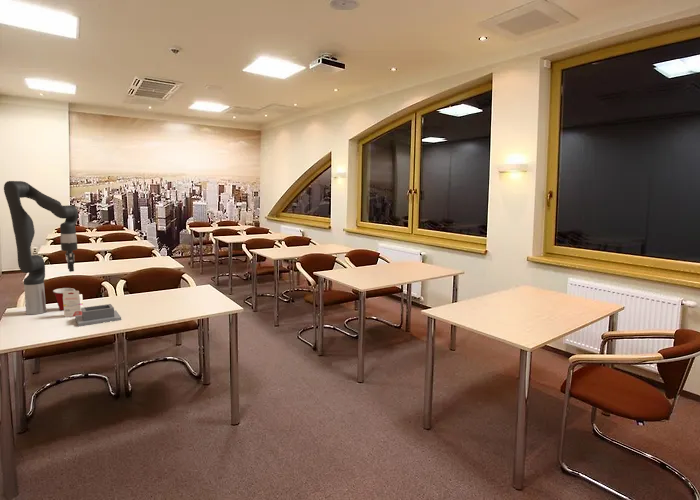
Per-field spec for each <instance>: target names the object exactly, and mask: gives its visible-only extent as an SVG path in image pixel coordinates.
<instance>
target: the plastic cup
mask: <svg viewBox="0 0 700 500" xmlns="http://www.w3.org/2000/svg"><path fill="white" fill-rule="evenodd" d="M63 291H76V289H75V288H71V287H62V288H56V289H53V290H52V292H53V294H54V296H55V298H56V299H55V300H56V303H57V306H58V310H60V311H64V306H63ZM68 294H74V293H68Z"/></svg>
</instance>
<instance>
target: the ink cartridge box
mask: <svg viewBox="0 0 700 500" xmlns="http://www.w3.org/2000/svg"><path fill="white" fill-rule="evenodd" d="M68 293H74V294H68ZM83 299H84V298H83V294H82V293H80V291H79V290H75V291H63V306H64V310H63V316H64V317H67V318H68V317H75V316H78V315H82V312H81V308H83V307H84V300H83Z"/></svg>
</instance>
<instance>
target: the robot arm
mask: <svg viewBox="0 0 700 500" xmlns="http://www.w3.org/2000/svg"><path fill="white" fill-rule="evenodd" d="M3 192H4V196H5V199H6V202H7V206H8V209H9V213H10V217H11V223H12V228H13V233H14V237H15V243H16V250H17V251H16V253H17V265H18V269H19V270H20V271H21V272H22V273H24V274H28V275H27V276H26V277H25V278H24V279H23V289H24V291H23V292H24V303H25V313H26V315H27V316H28V315H38V314H44V313H46V312H47V304H46V303H47V302H46V293H45V279H46V263H45V259H44V258H43V257H42V256H41V255H39V254H33V255H32V250H31V249H32V248H31V247H32V243H33V240H34V236H35V230H36V229H35V226H34V221H33V219H32V217H31V216H30V215H29V214H28V212H27V211H26V210H25V209H24V208H23V205H22V202H21V199H23V198H26V199H30V200H33V201H35V203H36V204H37V205H38V206H39V207H40V208H42V209H44V210H47V211H48V212H50V213H52V214H53V215H54V216H55V217H57V218H59V219H65V220H64V222H62V223H60V225H59V228H60V250H61V251H62V252H63V251H64V252H65V253H64V255H65V260H66V263H67V269H68V272H70V273H71V272H74V271H75V267H74V265H75V252H73V251H77V250H78V239H77V233H76V232H77V231H76V230H77V229H76V225H77V220H78V216H79V212H78V209H77V207H76V206H74V205H72V204H71V205H62V202H60V201H59V200H57V199H56V198H53V197H52V196H51V197H50V196H48V194H47V195H46V194H45V193H43V192H42V191H40V190H38V189H37V188H35V187H34V186H33V185H30V184H29V183H28V182H25V181H23V180H22V181H21V180H8V181H6V182H5V183H4V184H3Z"/></svg>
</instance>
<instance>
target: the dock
mask: <svg viewBox="0 0 700 500" xmlns="http://www.w3.org/2000/svg"><path fill="white" fill-rule="evenodd" d="M81 312H82V315H78V316H74V317H75V321H76V323H77V326H78V327H84V326H90V325H97V324H103V322H105V323H110V321H112V322H118V321H122V316H121V315H120V314H119V312H118V311H117V310H116V309H115V307H114V306H113V305H112V304H111V303H108V304H99V305H92V306H83V308H81Z"/></svg>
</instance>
